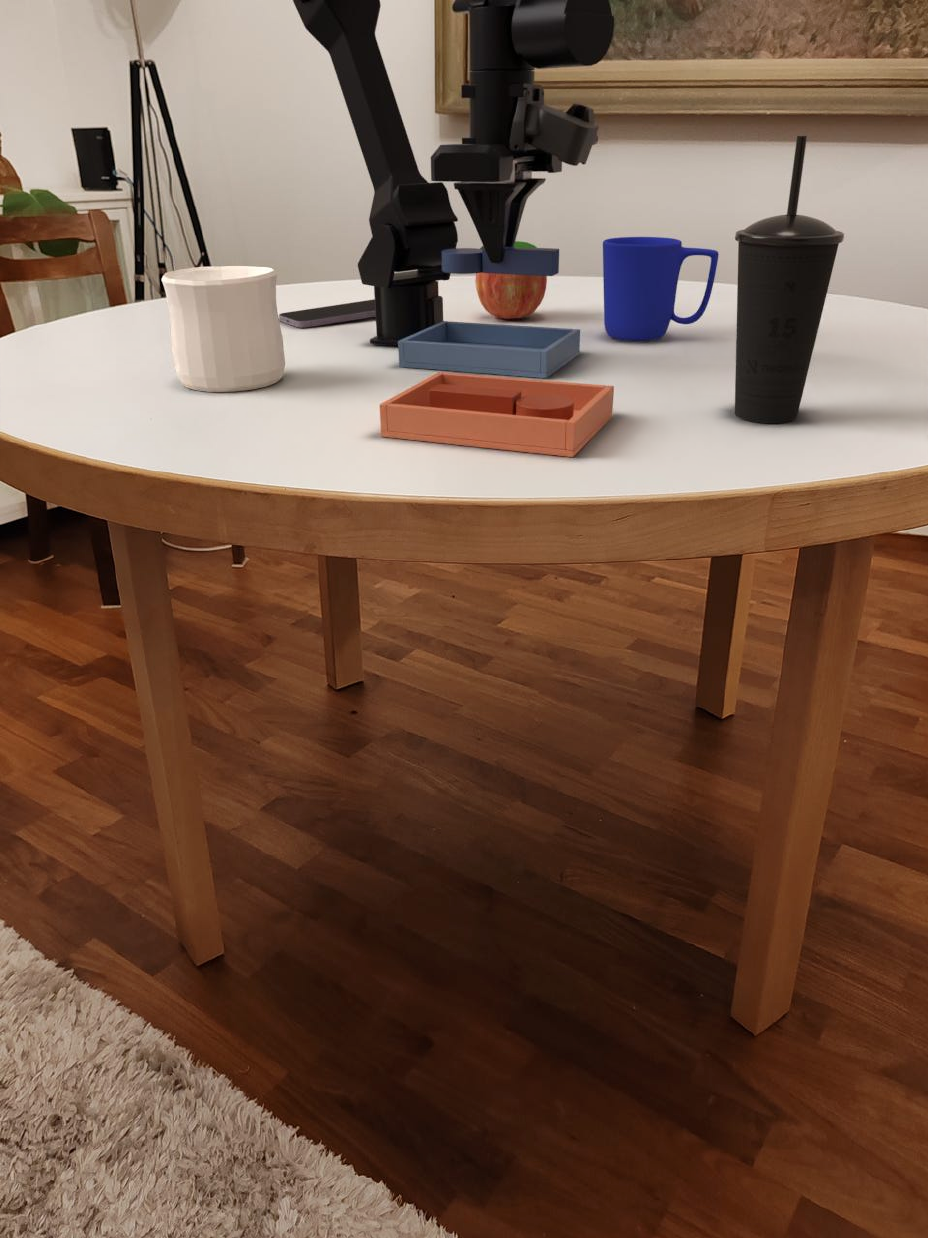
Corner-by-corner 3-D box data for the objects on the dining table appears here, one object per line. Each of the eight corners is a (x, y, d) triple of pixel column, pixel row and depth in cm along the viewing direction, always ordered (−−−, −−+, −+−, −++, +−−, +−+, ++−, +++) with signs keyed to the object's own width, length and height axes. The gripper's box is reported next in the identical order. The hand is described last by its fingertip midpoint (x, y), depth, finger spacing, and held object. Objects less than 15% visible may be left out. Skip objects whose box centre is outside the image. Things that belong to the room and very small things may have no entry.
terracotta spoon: (423, 421, 74) (422, 393, 73) (445, 407, 78) (444, 380, 77) (563, 434, 70) (564, 405, 69) (579, 419, 74) (581, 391, 73)
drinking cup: (703, 404, 79) (731, 136, 70) (792, 401, 80) (831, 134, 71) (734, 430, 72) (769, 136, 63) (831, 426, 73) (880, 134, 64)
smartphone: (275, 313, 117) (382, 297, 124) (276, 323, 118) (383, 306, 124) (299, 322, 112) (410, 304, 118) (300, 331, 112) (410, 314, 119)
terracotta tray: (380, 436, 72) (379, 404, 71) (439, 401, 82) (438, 371, 80) (573, 457, 67) (574, 422, 66) (612, 416, 76) (614, 385, 75)
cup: (171, 375, 91) (154, 268, 87) (274, 365, 95) (263, 261, 90) (184, 398, 84) (166, 282, 79) (295, 386, 87) (285, 274, 82)
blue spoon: (562, 271, 90) (563, 246, 89) (548, 278, 87) (549, 252, 86) (452, 266, 94) (452, 242, 93) (434, 272, 91) (434, 248, 90)
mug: (710, 347, 99) (721, 245, 95) (595, 344, 102) (600, 244, 97) (708, 332, 107) (718, 236, 102) (600, 329, 109) (605, 236, 104)
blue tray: (398, 366, 93) (397, 340, 92) (443, 344, 103) (443, 320, 101) (546, 378, 88) (547, 351, 87) (579, 353, 97) (580, 329, 96)
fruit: (518, 308, 122) (519, 225, 117) (563, 319, 115) (566, 230, 110) (461, 315, 118) (460, 229, 113) (503, 327, 111) (503, 235, 106)
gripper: (558, 63, 72) (551, 278, 80) (618, 72, 88) (608, 252, 95) (425, 68, 76) (430, 272, 83) (505, 76, 91) (503, 248, 99)
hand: (500, 261), depth 90 cm, fingers closed on blue spoon, 2 cm apart
